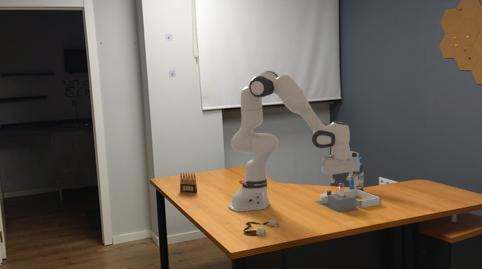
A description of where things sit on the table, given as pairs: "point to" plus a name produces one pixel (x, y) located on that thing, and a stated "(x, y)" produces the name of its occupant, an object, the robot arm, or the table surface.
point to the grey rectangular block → (338, 202)
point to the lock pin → (341, 189)
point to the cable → (261, 231)
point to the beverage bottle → (357, 178)
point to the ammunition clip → (188, 183)
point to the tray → (369, 198)
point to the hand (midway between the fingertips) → (340, 181)
